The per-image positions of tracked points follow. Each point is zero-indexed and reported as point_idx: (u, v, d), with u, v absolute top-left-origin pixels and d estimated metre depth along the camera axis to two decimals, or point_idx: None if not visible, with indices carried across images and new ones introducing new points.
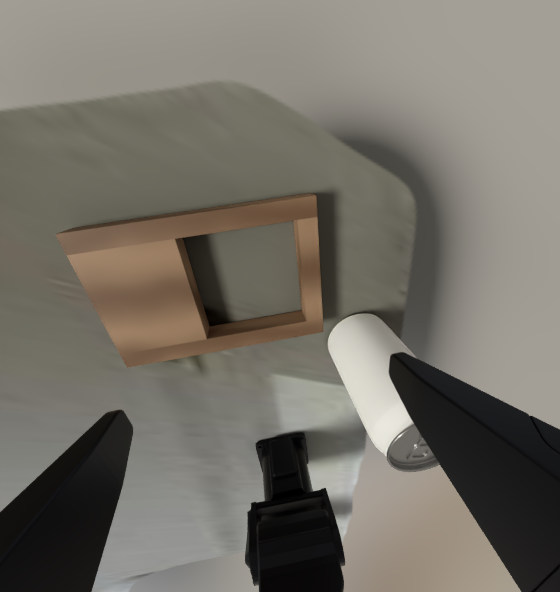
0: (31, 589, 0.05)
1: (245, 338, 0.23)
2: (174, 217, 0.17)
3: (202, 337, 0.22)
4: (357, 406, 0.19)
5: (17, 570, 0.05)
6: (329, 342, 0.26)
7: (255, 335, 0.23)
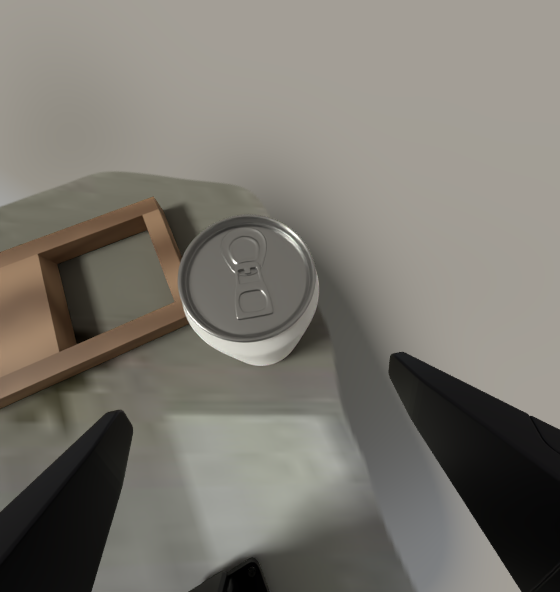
0: (31, 589, 0.05)
1: (105, 340, 0.19)
2: (39, 238, 0.22)
3: (54, 351, 0.19)
4: None
5: (18, 570, 0.05)
6: None
7: (117, 333, 0.19)
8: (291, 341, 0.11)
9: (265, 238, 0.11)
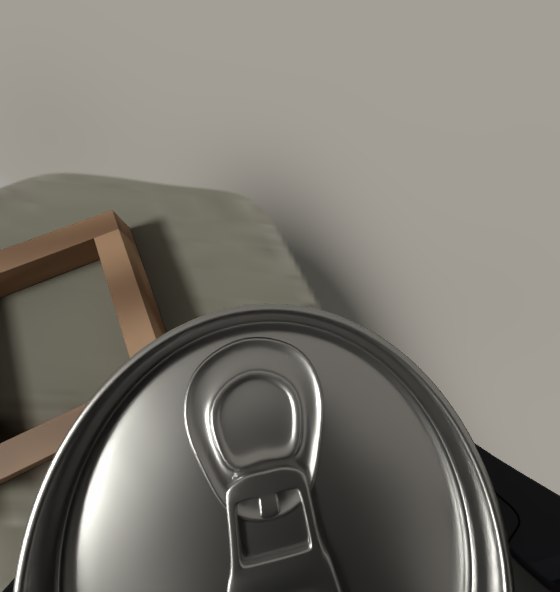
0: None
1: (19, 449, 0.12)
2: None
3: None
4: None
5: None
6: None
7: (40, 437, 0.12)
8: None
9: (317, 377, 0.04)
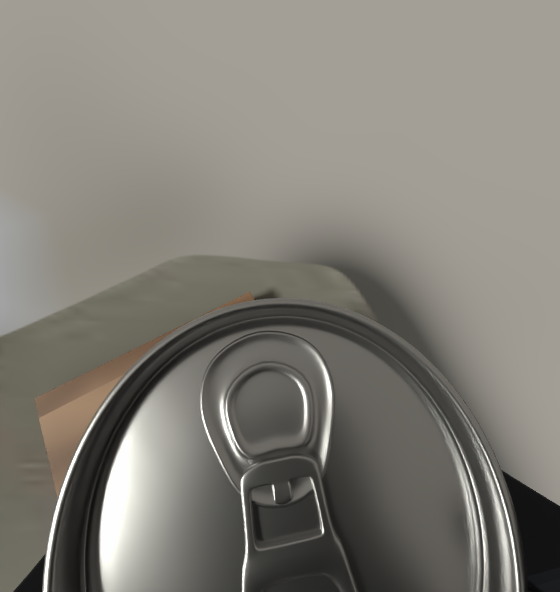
0: None
1: None
2: (137, 348, 0.20)
3: None
4: None
5: None
6: None
7: None
8: None
9: (328, 369, 0.04)
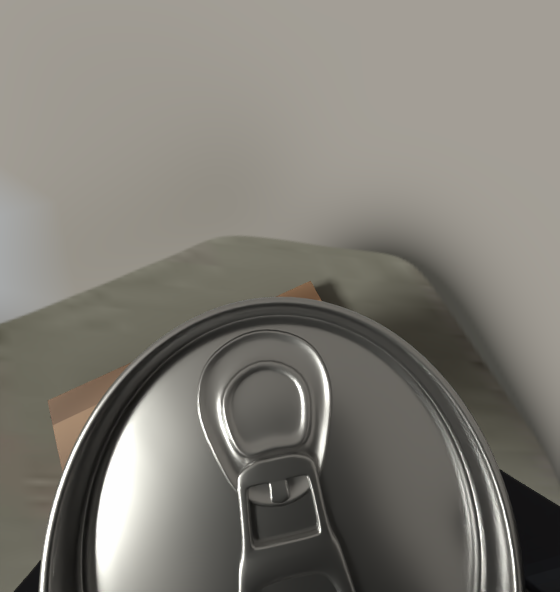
0: None
1: None
2: None
3: None
4: None
5: None
6: None
7: None
8: None
9: (325, 367, 0.04)
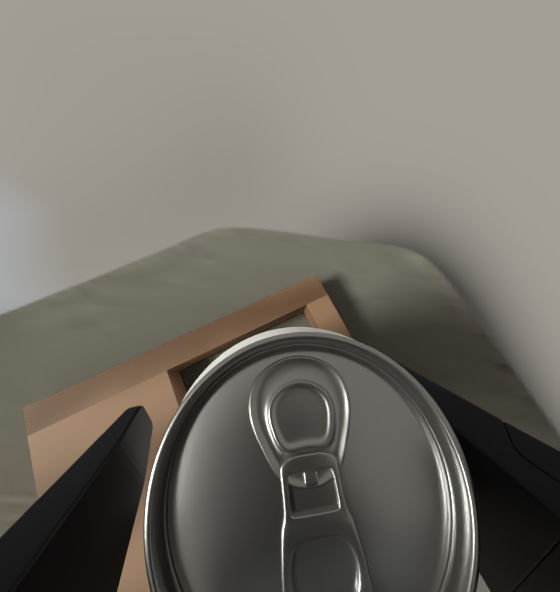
0: (66, 580, 0.05)
1: None
2: (165, 344, 0.15)
3: None
4: None
5: (54, 561, 0.05)
6: None
7: None
8: None
9: (346, 388, 0.05)
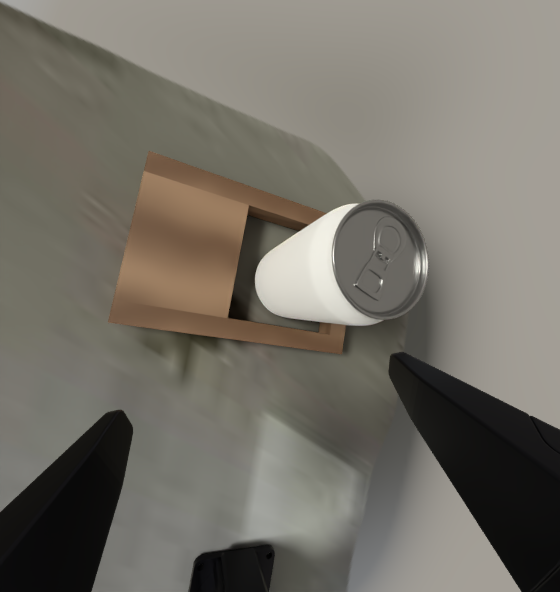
0: (31, 589, 0.05)
1: (267, 333, 0.20)
2: (257, 189, 0.20)
3: (223, 314, 0.19)
4: (291, 252, 0.14)
5: (18, 570, 0.05)
6: (259, 263, 0.21)
7: (278, 333, 0.20)
8: (361, 325, 0.13)
9: (406, 244, 0.13)
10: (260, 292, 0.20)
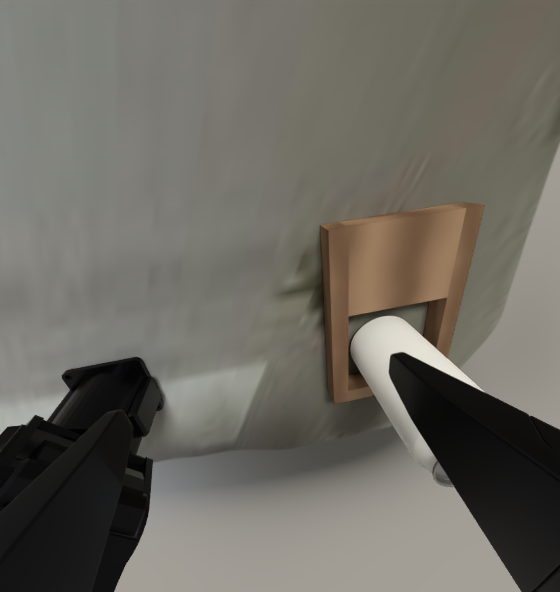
0: (31, 589, 0.05)
1: (341, 348, 0.23)
2: (461, 298, 0.22)
3: (351, 312, 0.21)
4: None
5: (18, 570, 0.05)
6: (393, 318, 0.24)
7: (342, 356, 0.23)
8: (412, 450, 0.16)
9: None
10: (372, 330, 0.23)
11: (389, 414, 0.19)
